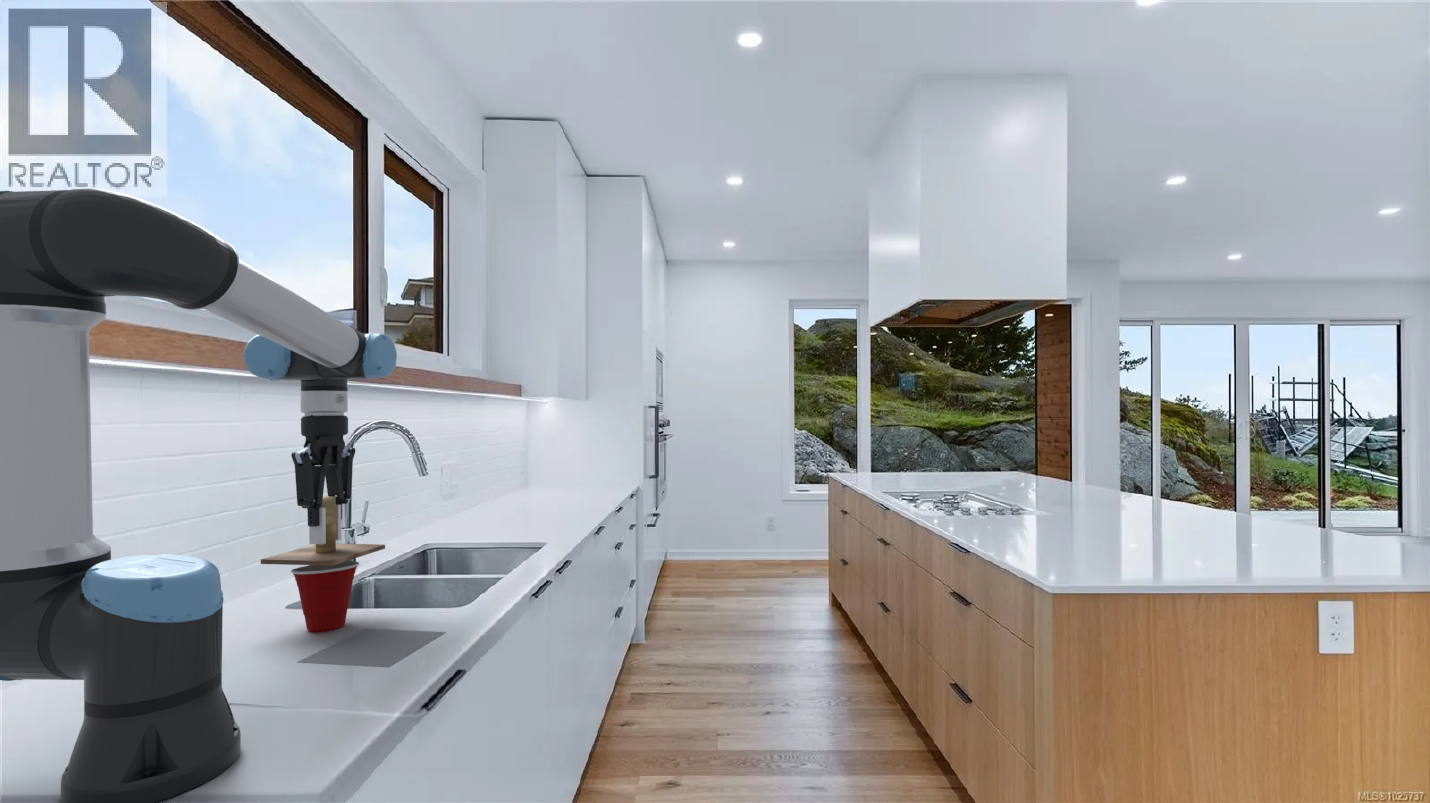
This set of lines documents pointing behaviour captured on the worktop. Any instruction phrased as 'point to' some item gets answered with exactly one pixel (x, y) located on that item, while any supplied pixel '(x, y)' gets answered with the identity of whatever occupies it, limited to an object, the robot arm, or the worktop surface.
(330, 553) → the walnut lid
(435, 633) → the charcoal mat
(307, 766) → the worktop surface
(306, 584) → the plastic cup
